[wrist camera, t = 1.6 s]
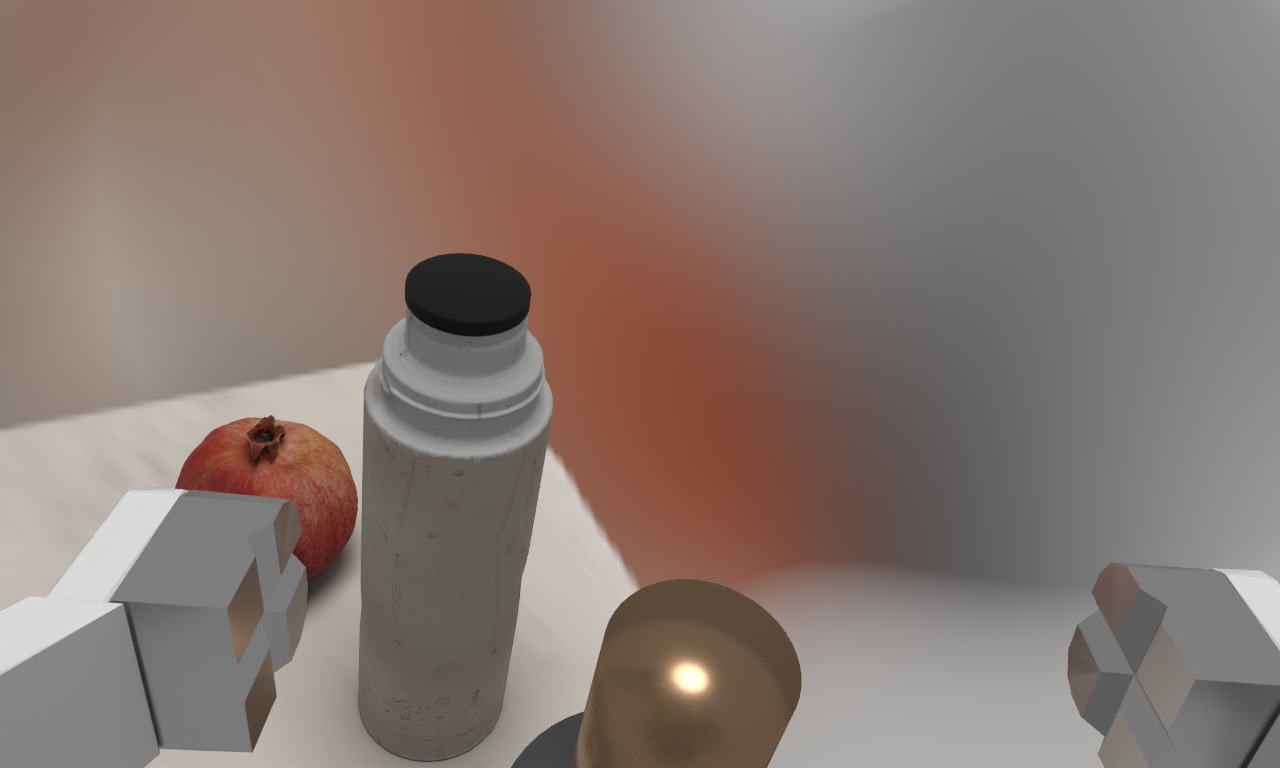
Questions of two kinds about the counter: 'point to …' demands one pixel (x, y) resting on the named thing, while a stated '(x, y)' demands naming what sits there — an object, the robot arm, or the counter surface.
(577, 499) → the counter surface
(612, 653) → the brown candle holder
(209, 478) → the fruit
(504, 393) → the thermos bottle
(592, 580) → the counter surface
